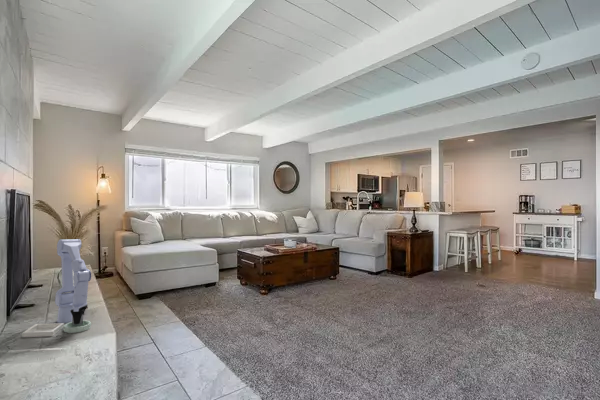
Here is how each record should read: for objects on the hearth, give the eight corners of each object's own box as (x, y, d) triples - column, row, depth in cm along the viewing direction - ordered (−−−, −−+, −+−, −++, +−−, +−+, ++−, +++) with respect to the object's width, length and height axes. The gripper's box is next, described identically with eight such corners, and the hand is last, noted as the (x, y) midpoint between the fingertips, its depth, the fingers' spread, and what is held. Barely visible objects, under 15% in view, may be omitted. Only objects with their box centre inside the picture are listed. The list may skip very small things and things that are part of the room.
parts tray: (35, 329, 157) (36, 323, 157) (63, 328, 160) (64, 322, 160) (21, 338, 145) (22, 332, 145) (52, 337, 149) (53, 331, 149)
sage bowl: (69, 326, 163) (69, 320, 163) (93, 325, 166) (94, 320, 166) (59, 334, 152) (60, 328, 152) (85, 333, 155) (86, 327, 155)
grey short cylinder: (72, 323, 160) (73, 314, 160) (83, 322, 162) (84, 313, 162) (70, 326, 156) (71, 317, 156) (82, 325, 158) (82, 316, 158)
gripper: (74, 291, 165) (72, 318, 164) (67, 298, 152) (64, 327, 151) (90, 291, 168) (88, 317, 167) (84, 298, 155) (81, 326, 154)
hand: (78, 322), depth 159 cm, fingers closed on grey short cylinder, 4 cm apart
